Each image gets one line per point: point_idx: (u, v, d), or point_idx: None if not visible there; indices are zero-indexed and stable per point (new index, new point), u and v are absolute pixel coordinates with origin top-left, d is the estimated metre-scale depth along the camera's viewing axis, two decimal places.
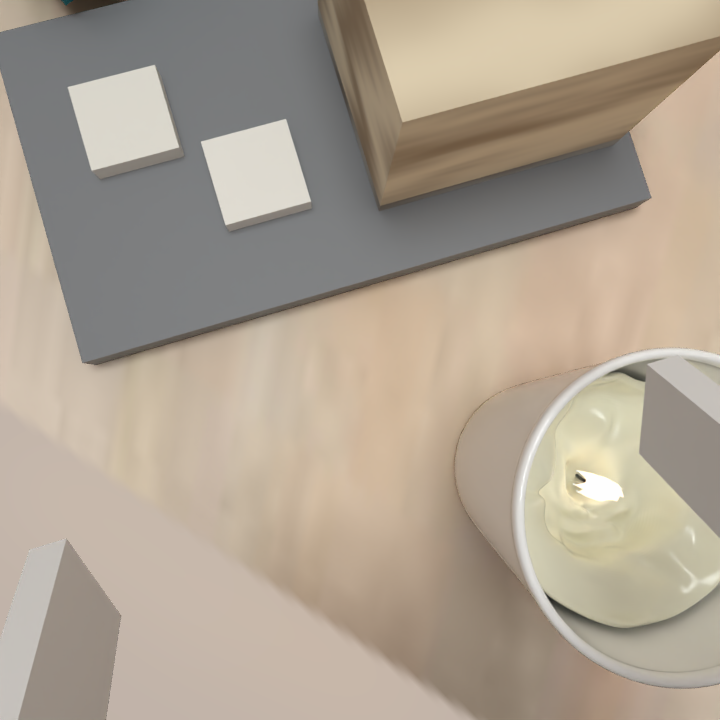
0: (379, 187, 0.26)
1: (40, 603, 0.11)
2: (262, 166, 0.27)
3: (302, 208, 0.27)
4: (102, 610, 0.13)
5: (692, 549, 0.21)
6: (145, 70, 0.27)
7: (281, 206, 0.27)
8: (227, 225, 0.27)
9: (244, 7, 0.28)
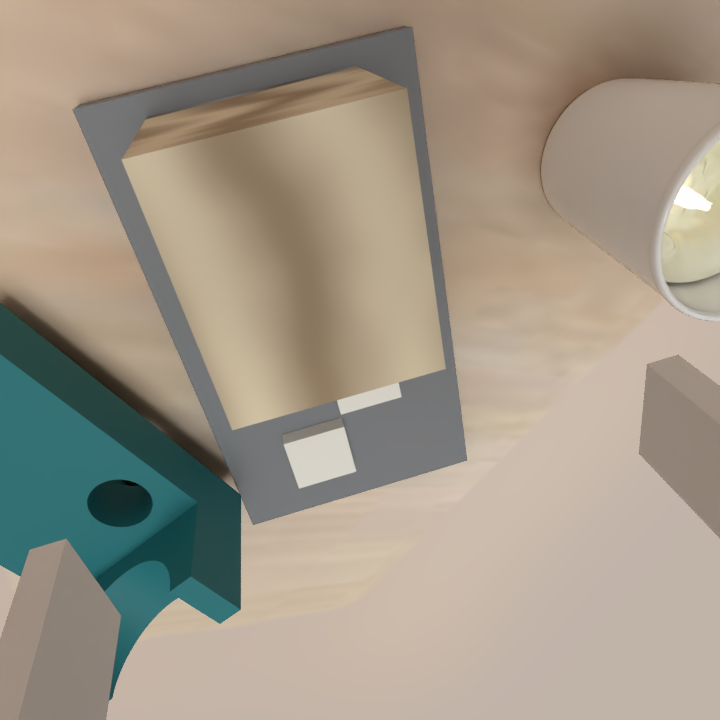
0: None
1: (41, 602, 0.11)
2: None
3: None
4: (102, 611, 0.13)
5: None
6: (287, 449, 0.38)
7: None
8: (400, 395, 0.37)
9: None
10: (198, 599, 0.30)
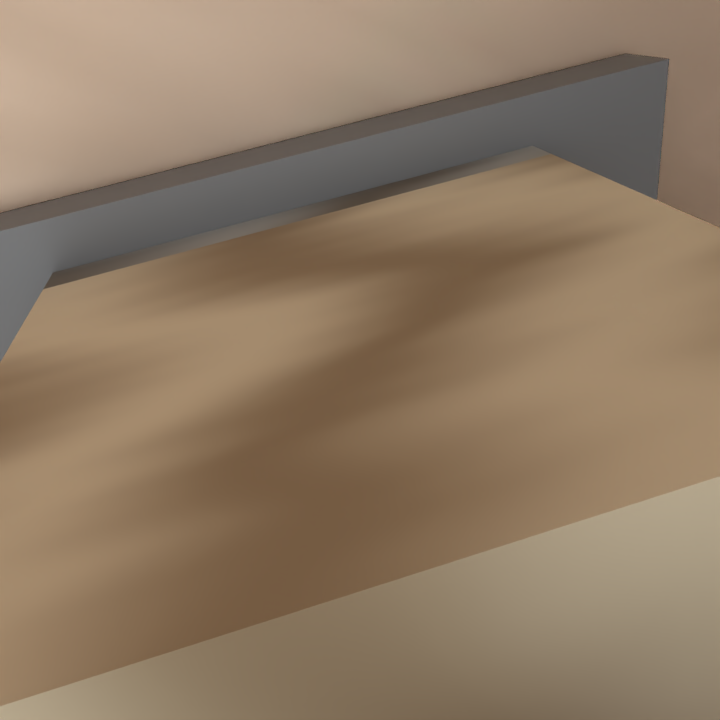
0: None
1: None
2: None
3: None
4: None
5: None
6: None
7: None
8: None
9: None
10: None
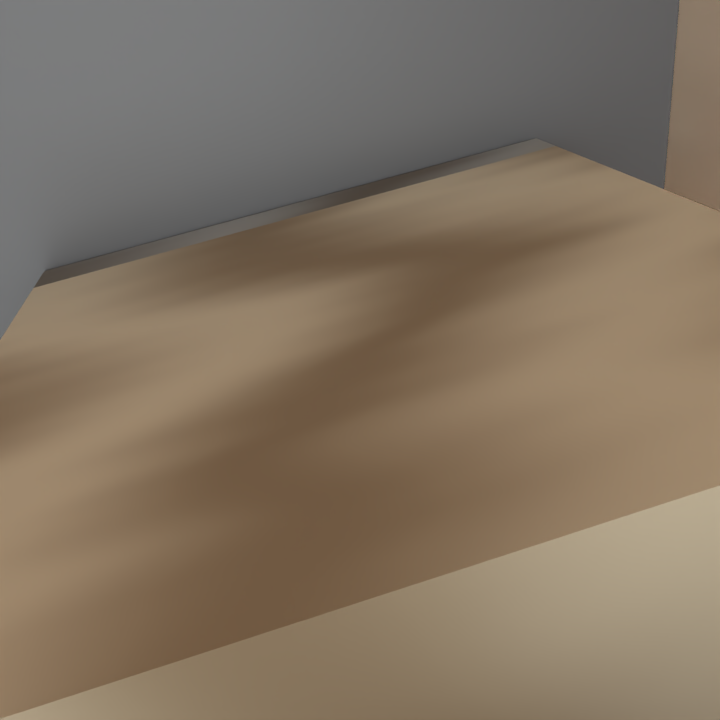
0: None
1: None
2: None
3: None
4: None
5: None
6: None
7: None
8: None
9: None
10: None
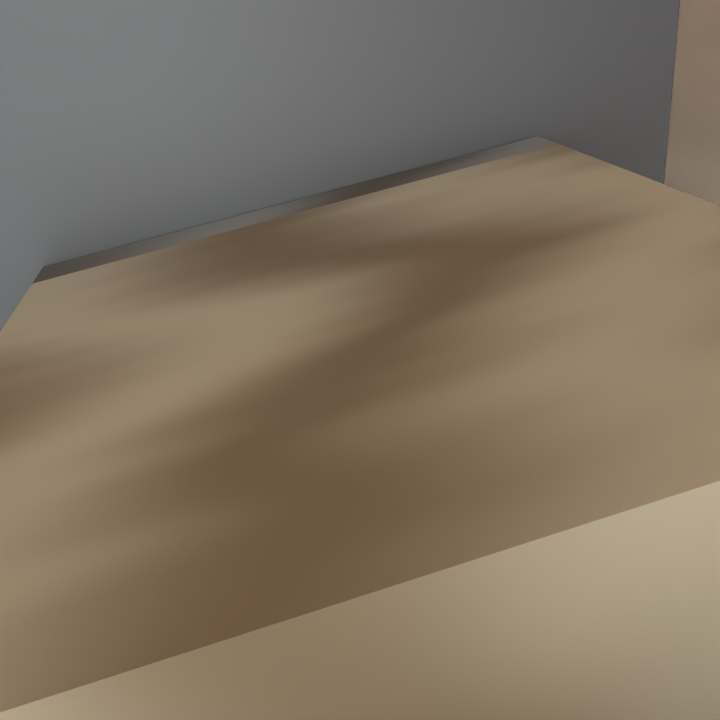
0: None
1: None
2: None
3: None
4: None
5: None
6: None
7: None
8: None
9: None
10: None
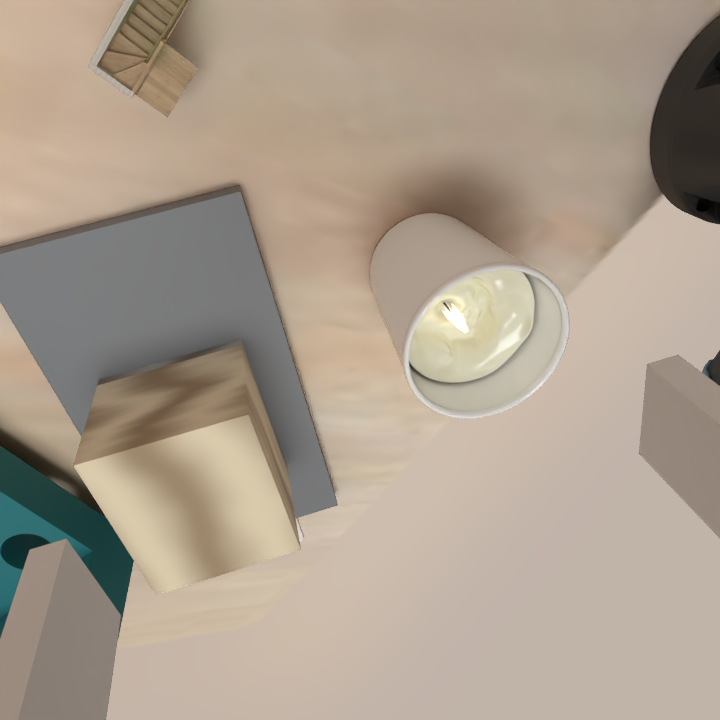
0: None
1: (41, 603, 0.11)
2: None
3: None
4: (102, 611, 0.13)
5: (502, 280, 0.35)
6: None
7: None
8: (303, 538, 0.54)
9: None
10: None
